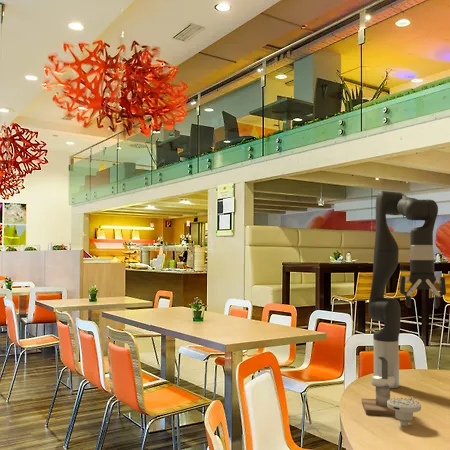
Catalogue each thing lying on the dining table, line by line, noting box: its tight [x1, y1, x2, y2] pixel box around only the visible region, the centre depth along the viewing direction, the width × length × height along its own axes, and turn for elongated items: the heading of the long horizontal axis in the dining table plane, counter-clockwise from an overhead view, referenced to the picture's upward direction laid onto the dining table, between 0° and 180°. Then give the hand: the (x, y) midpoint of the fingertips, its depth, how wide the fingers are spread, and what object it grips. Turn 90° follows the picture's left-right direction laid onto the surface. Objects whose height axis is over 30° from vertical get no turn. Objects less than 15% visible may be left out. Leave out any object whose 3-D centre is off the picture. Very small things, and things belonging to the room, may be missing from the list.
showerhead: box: [387, 396, 422, 427], centre depth 147 cm, size 9×7×10 cm
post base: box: [361, 386, 396, 417], centre depth 162 cm, size 13×12×8 cm
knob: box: [370, 357, 395, 389], centre depth 163 cm, size 7×8×8 cm
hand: (422, 307), depth 167 cm, fingers open, 8 cm apart
